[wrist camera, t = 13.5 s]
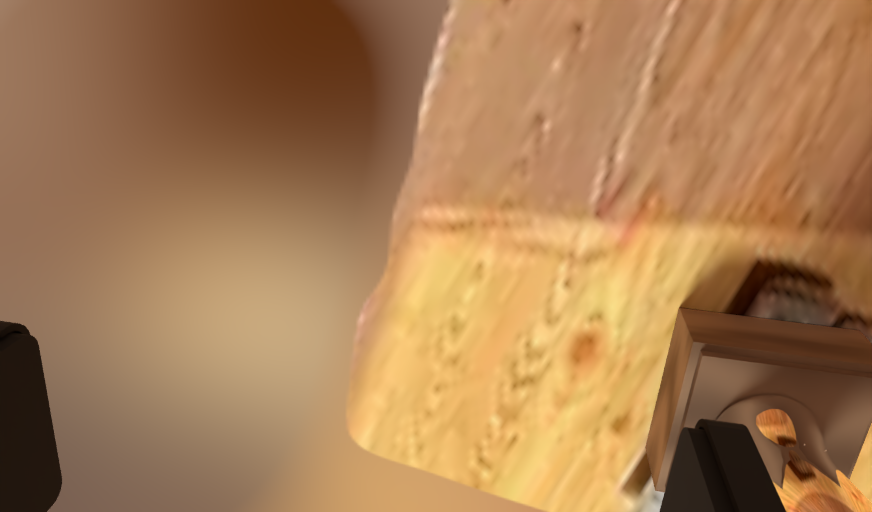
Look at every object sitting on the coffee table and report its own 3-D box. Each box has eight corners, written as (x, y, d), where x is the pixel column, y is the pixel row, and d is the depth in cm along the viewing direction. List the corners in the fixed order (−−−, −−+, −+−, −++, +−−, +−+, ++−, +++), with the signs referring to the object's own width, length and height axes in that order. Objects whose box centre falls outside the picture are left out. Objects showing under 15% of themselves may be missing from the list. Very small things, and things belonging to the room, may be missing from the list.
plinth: (679, 307, 44) (695, 346, 39) (859, 330, 43) (898, 373, 38) (645, 447, 48) (656, 497, 44) (808, 471, 47) (837, 524, 43)
